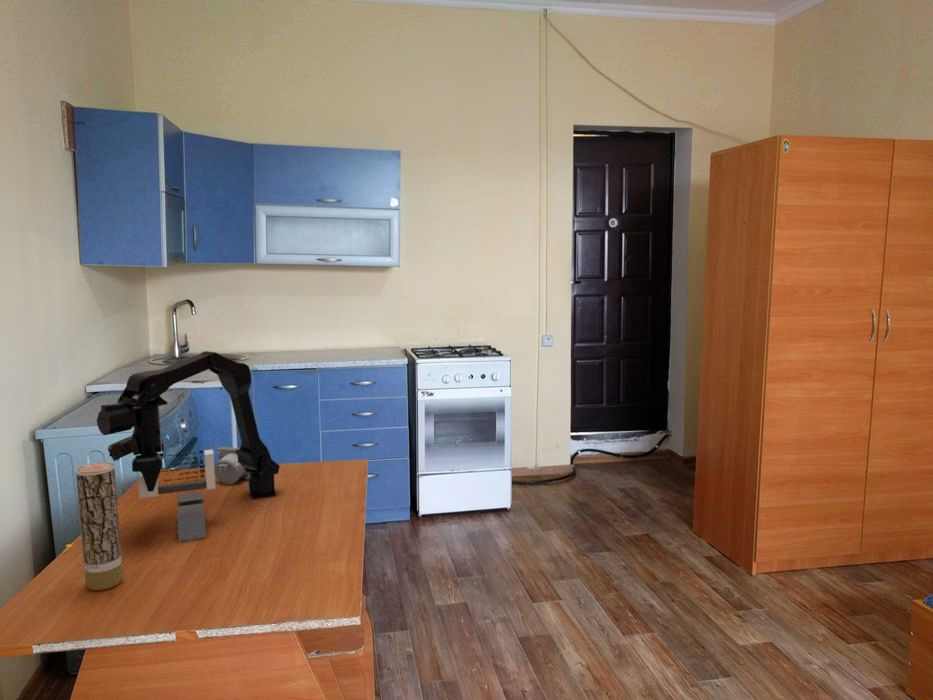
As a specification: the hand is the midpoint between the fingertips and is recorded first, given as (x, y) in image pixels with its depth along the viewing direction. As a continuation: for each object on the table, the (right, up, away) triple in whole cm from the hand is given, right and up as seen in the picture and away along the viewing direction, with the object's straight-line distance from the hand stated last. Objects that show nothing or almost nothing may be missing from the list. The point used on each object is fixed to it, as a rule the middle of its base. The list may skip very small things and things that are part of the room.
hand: (151, 488), depth 161 cm
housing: (+8, -11, +5) cm, 14 cm away
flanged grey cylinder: (-1, -7, +38) cm, 39 cm away
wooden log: (+2, -15, -23) cm, 28 cm away
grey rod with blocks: (+5, -1, +3) cm, 6 cm away
